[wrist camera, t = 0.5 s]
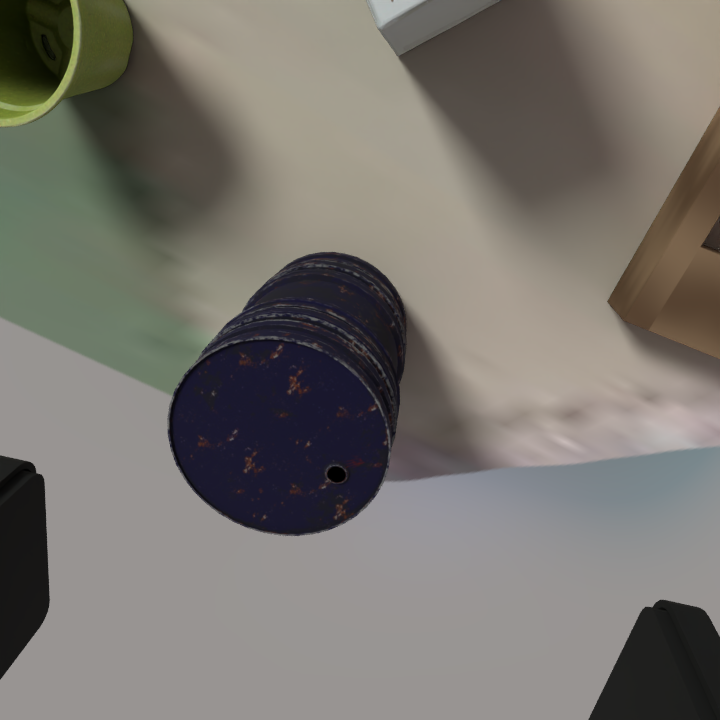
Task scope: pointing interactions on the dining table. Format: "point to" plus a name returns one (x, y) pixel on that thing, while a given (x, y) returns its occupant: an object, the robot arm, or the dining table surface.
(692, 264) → the rail
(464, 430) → the dining table surface
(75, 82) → the plant pot
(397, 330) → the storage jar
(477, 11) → the supplement box
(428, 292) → the dining table surface
